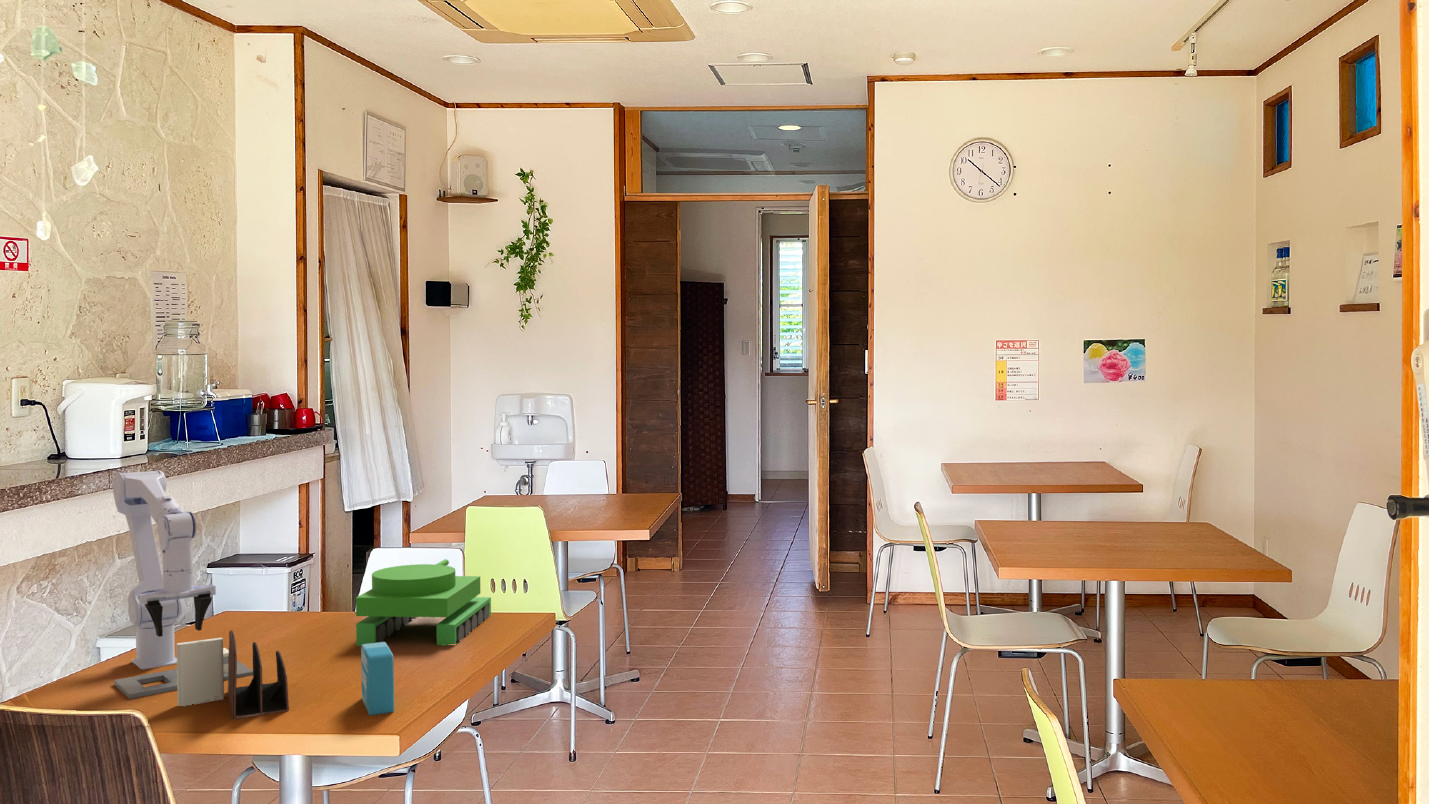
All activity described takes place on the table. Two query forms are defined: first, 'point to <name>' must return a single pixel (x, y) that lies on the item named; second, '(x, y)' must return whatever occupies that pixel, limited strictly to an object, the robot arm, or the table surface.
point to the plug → (225, 659)
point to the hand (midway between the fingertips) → (179, 632)
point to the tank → (421, 602)
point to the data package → (377, 678)
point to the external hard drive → (200, 671)
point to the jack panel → (135, 689)
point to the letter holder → (256, 687)
